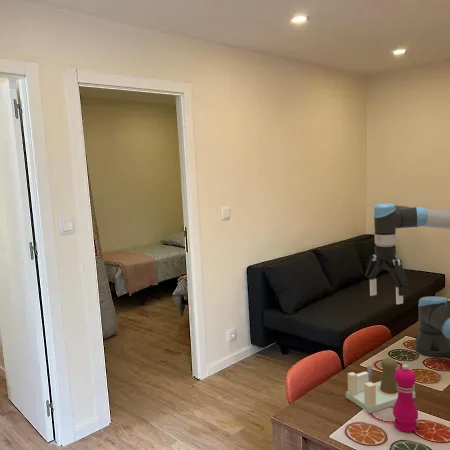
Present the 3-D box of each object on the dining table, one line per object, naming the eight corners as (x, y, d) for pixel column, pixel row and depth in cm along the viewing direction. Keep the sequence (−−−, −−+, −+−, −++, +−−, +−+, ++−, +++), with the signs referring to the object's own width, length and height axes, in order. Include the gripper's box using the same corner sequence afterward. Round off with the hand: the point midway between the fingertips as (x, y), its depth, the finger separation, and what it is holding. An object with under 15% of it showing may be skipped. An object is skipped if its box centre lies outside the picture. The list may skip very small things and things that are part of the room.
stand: (389, 383, 165) (389, 357, 164) (415, 397, 154) (415, 370, 153) (345, 397, 157) (345, 370, 156) (369, 413, 146) (369, 384, 145)
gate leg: (365, 387, 159) (364, 368, 158) (369, 389, 157) (369, 370, 156) (348, 392, 156) (347, 373, 155) (352, 395, 154) (351, 375, 153)
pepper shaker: (396, 385, 159) (396, 356, 157) (400, 394, 153) (399, 363, 152) (379, 385, 160) (378, 355, 159) (381, 393, 154) (381, 363, 153)
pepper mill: (388, 421, 141) (388, 360, 139) (411, 418, 142) (410, 358, 140) (399, 434, 134) (399, 370, 132) (422, 432, 135) (422, 368, 132)
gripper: (354, 242, 180) (356, 293, 182) (403, 250, 157) (404, 309, 160) (369, 239, 183) (370, 290, 185) (419, 248, 160) (419, 305, 163)
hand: (386, 299), depth 172 cm, fingers open, 13 cm apart
